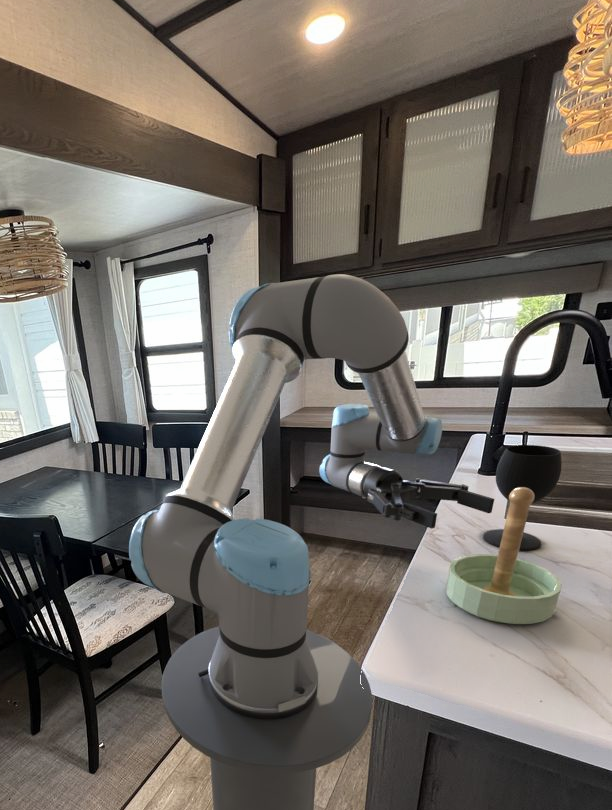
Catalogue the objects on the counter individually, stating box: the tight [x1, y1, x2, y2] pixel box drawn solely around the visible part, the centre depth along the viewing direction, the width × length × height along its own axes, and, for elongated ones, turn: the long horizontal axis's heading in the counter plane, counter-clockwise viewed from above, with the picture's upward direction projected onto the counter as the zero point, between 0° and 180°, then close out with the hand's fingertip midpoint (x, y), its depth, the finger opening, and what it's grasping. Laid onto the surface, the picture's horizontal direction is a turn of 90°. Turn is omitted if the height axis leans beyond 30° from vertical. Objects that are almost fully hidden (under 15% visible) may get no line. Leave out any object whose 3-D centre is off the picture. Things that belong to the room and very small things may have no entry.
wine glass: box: [482, 444, 563, 552], centre depth 97 cm, size 10×10×20 cm
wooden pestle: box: [484, 487, 534, 596], centre depth 77 cm, size 4×4×20 cm
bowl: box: [445, 553, 563, 625], centre depth 80 cm, size 15×15×6 cm
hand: (463, 513), depth 83 cm, fingers open, 13 cm apart
